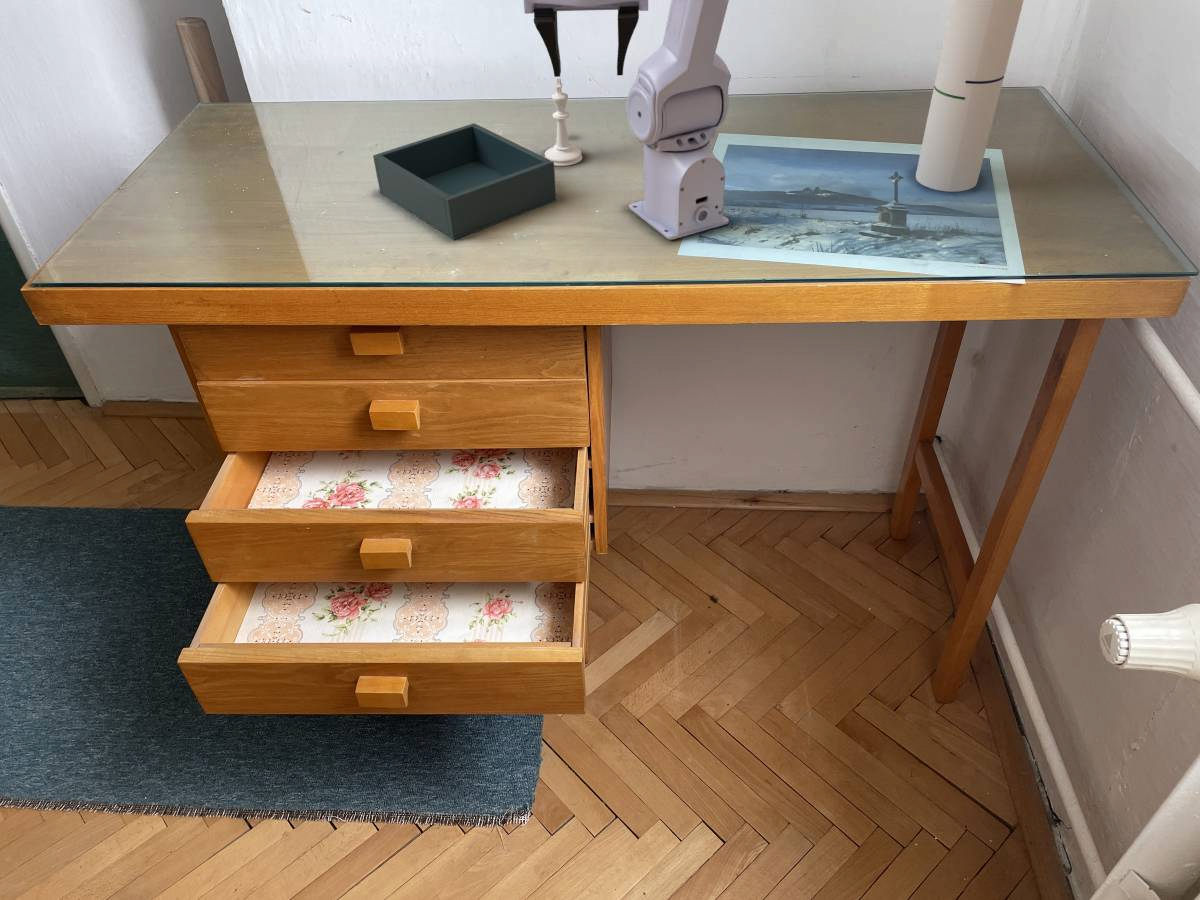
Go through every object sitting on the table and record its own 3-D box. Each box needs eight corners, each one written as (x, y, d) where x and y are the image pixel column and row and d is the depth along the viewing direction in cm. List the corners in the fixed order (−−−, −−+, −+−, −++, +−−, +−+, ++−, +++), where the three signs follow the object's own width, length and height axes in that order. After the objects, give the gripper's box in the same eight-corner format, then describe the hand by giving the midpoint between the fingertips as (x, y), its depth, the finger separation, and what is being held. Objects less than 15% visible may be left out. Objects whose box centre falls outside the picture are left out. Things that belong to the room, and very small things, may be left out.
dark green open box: (556, 200, 109) (554, 161, 106) (453, 240, 102) (447, 200, 99) (478, 159, 119) (474, 122, 116) (379, 193, 112) (372, 155, 109)
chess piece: (584, 150, 120) (581, 72, 114) (580, 166, 116) (576, 86, 110) (547, 150, 121) (542, 72, 114) (541, 165, 117) (536, 86, 110)
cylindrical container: (980, 193, 107) (1041, -43, 91) (917, 189, 109) (966, -44, 92) (973, 168, 113) (1030, -59, 96) (913, 165, 114) (960, -60, 98)
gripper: (647, -60, 106) (647, 61, 115) (523, -57, 107) (532, 63, 116) (648, -46, 101) (648, 80, 110) (518, -42, 101) (528, 83, 110)
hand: (588, 73), depth 112 cm, fingers open, 7 cm apart
